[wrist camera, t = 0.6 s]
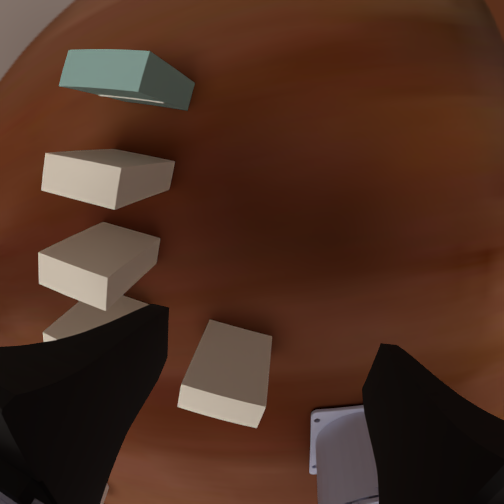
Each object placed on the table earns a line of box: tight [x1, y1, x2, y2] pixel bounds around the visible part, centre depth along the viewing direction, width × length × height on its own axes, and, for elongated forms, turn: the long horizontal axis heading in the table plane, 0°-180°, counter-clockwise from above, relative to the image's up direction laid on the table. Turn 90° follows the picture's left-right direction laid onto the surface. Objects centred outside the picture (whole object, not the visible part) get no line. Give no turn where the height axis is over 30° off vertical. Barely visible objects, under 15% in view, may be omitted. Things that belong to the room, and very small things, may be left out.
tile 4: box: [43, 295, 150, 342], centre depth 19 cm, size 2×4×7 cm, turn 75°
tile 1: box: [59, 49, 195, 111], centre depth 14 cm, size 2×4×7 cm, turn 76°
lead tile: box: [177, 319, 272, 428], centre depth 19 cm, size 2×4×7 cm, turn 76°
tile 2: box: [41, 149, 175, 210], centre depth 16 cm, size 2×4×7 cm, turn 76°
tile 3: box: [38, 222, 160, 311], centre depth 17 cm, size 2×4×7 cm, turn 76°
